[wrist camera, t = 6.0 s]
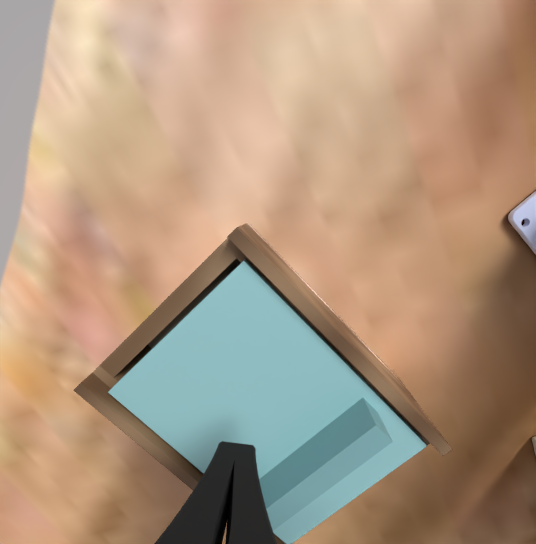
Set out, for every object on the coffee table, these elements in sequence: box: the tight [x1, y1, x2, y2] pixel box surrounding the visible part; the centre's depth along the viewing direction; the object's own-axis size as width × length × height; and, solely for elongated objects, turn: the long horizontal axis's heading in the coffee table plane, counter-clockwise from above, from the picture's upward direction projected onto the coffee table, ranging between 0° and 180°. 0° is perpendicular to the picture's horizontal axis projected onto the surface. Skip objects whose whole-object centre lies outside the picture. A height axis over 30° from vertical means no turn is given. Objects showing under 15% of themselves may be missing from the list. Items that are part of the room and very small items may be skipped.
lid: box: [108, 259, 427, 544], centre depth 15 cm, size 14×10×3 cm
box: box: [74, 223, 452, 544], centre depth 18 cm, size 16×12×6 cm
